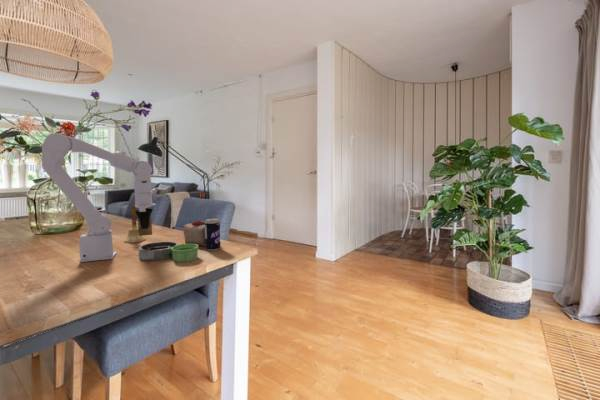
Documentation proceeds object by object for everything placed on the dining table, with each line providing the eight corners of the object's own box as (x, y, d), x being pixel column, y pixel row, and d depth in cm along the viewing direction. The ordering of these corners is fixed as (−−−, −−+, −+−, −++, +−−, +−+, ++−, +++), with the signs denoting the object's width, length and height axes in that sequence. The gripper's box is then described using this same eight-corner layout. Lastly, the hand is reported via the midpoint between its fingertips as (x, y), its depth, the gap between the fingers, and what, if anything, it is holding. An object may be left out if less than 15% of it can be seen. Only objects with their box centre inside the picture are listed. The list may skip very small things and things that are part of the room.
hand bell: (136, 237, 135) (133, 203, 133) (149, 239, 132) (147, 204, 130) (119, 242, 127) (117, 205, 125) (133, 243, 124) (131, 206, 123)
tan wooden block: (138, 235, 111) (137, 218, 111) (139, 234, 113) (138, 218, 112) (152, 234, 113) (151, 218, 112) (152, 233, 115) (151, 217, 114)
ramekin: (178, 264, 97) (178, 251, 96) (167, 259, 103) (166, 247, 103) (203, 258, 104) (203, 246, 103) (191, 253, 110) (190, 242, 109)
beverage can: (211, 252, 111) (210, 221, 110) (202, 249, 114) (201, 219, 113) (223, 249, 116) (222, 219, 114) (214, 246, 119) (213, 217, 118)
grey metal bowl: (137, 262, 99) (136, 252, 99) (141, 252, 111) (140, 243, 110) (179, 257, 104) (178, 248, 104) (178, 248, 116) (178, 240, 116)
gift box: (181, 243, 124) (179, 221, 123) (196, 240, 131) (195, 218, 130) (203, 248, 117) (202, 223, 116) (218, 243, 124) (217, 220, 123)
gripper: (153, 193, 106) (155, 230, 108) (155, 191, 120) (157, 223, 121) (131, 194, 103) (134, 232, 105) (136, 191, 117) (138, 225, 118)
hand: (145, 227), depth 113 cm, fingers closed on tan wooden block, 2 cm apart
